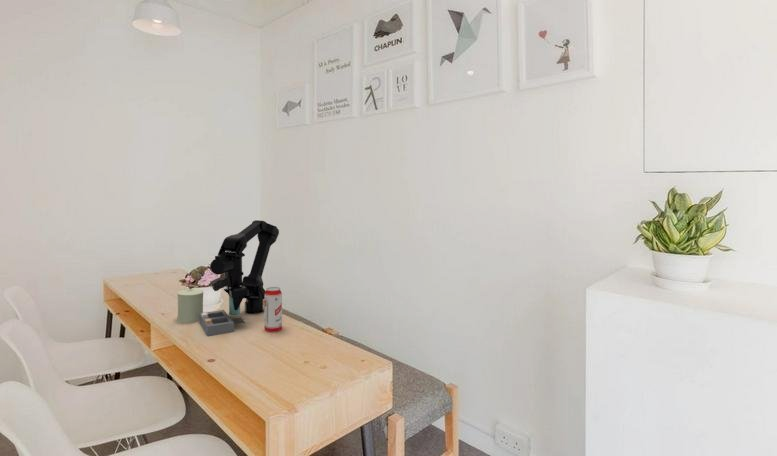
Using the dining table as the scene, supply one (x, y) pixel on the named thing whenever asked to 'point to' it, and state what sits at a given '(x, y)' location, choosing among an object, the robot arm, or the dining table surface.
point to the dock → (216, 322)
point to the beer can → (273, 309)
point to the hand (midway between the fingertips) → (234, 308)
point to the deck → (238, 320)
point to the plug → (231, 307)
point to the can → (190, 305)
